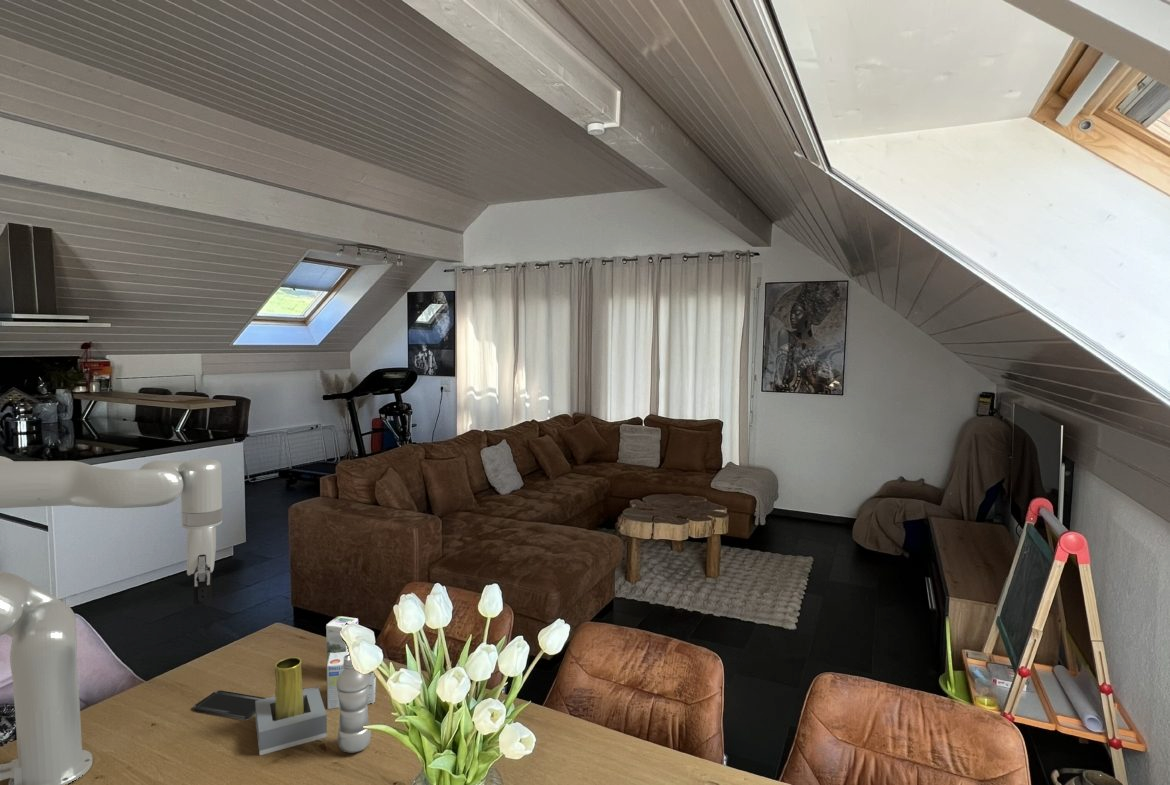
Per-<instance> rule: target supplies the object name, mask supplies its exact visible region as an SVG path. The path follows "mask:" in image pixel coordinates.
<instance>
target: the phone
mask: <svg viewBox="0 0 1170 785" xmlns="http://www.w3.org/2000/svg"><path fill="white" fill-rule="evenodd" d="M265 698H266V697H264V696H263V697H262V696H257V695H250V694H245V693H238V692H233V691H225V690H216V691H214V692H212V693H211V694H209V695H208V696H206V697H205V698H203V699H202V700H201V701H199V702H197V703H196V704H194V705H193V708H192V709H193V712H197V713H201V714H207V715H212V716H218V717H224V718H228V719H234V720H240V721H248V720H250V719H251V718H253V717H254V716H256V713H255V701H257V700H261V699H265Z"/></svg>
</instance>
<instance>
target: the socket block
mask: <svg viewBox="0 0 1170 785" xmlns="http://www.w3.org/2000/svg"><path fill="white" fill-rule="evenodd" d="M264 698H265V699H261V700H257V701H255V713H256V714H255V726H256V727H255V728H256V734H257V745H258V751H259V756H263V755H268V754H270V753H273V752H278V751H281V750H284V749H288V748H291V747H295V746H299V745H303V744H307V743H310V742H314V741H317V740H321V739H325V738H327V737H328V729H327V728H328V727H327V726H328V722H327V720H328V719H327V718H328V717H327V716H328V715H327V712H326V708H325V704H324V702H323V699H322V696H321V692H320V689H319V685H317V686H312V687H308V688H304V689H303V704H304V714H301V715H297V716H293V717H289V718H285V719H281V720H277V721H275V702H276V695H274V696H270V697H264Z"/></svg>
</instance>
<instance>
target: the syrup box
mask: <svg viewBox="0 0 1170 785" xmlns="http://www.w3.org/2000/svg"><path fill="white" fill-rule="evenodd" d="M348 621H351V622H354V623H356V624H358V625H359V618H358V617H357V618H356V617H349V616H341V615H339V616H336V617H334V618H333V619H332V620H330V621H329V622H328V623H326V626H325V629H326V634H325V635H326V637H325V638H326V664H327V663H328V659H329V655H330V653H338V652H347V651H348V649H347V646H346V644H345V642H344V641H343V640H342V638H341V635H340V630H341V628H342V627H343V626H344V625H345V624H346V623H347V622H348Z"/></svg>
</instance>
